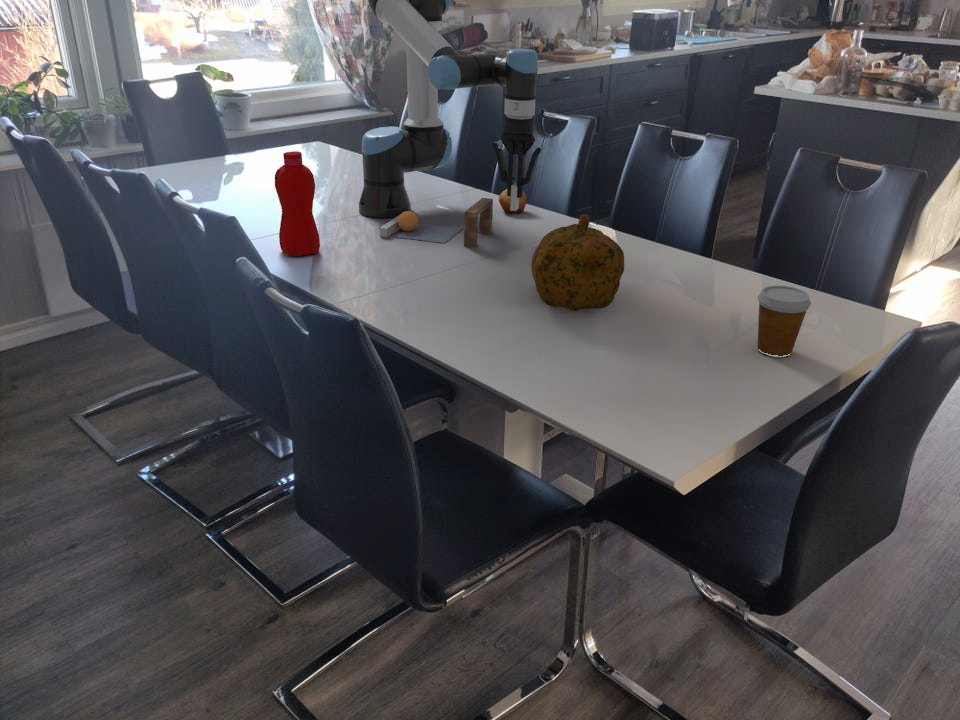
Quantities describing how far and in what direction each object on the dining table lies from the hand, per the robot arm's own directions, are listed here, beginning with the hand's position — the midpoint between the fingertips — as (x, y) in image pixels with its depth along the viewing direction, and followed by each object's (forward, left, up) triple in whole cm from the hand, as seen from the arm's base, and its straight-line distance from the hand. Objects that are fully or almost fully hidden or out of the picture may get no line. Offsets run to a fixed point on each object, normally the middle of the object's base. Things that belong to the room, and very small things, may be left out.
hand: (514, 209), depth 215 cm
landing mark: (-24, 0, -9) cm, 25 cm away
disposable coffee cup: (+66, -46, -9) cm, 81 cm away
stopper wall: (-34, 0, -9) cm, 35 cm away
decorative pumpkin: (+24, -35, -9) cm, 44 cm away
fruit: (-9, +28, -9) cm, 31 cm away
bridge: (-10, 0, -9) cm, 13 cm away
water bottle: (-49, -26, -9) cm, 56 cm away
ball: (-30, -1, -6) cm, 30 cm away
